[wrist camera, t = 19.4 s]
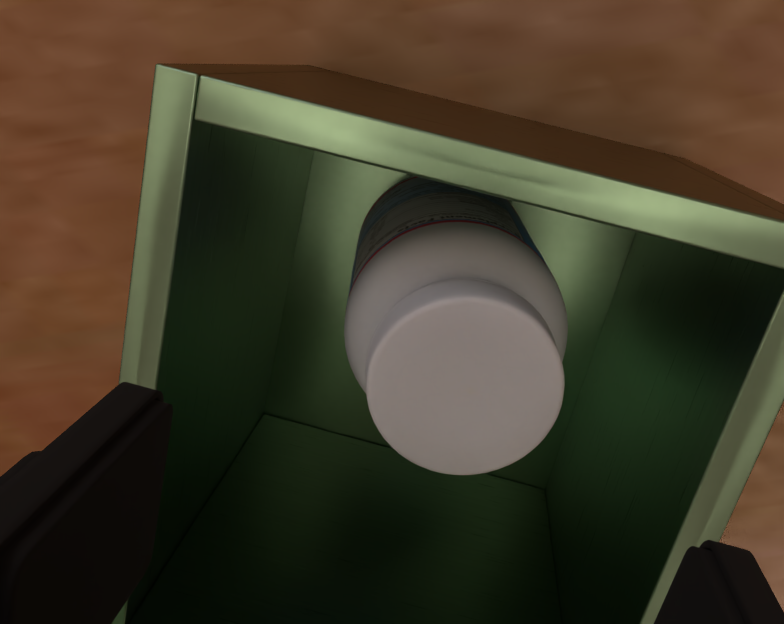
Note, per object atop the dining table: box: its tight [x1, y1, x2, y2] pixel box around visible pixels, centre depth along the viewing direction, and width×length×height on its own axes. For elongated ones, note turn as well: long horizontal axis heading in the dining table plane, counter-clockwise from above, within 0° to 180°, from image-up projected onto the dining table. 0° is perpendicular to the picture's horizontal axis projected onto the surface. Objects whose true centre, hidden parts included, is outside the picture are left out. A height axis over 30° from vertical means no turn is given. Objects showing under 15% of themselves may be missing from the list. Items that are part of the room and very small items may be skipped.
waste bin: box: [112, 64, 784, 624], centre depth 23 cm, size 15×14×13 cm
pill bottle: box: [344, 176, 568, 475], centre depth 22 cm, size 6×6×11 cm
